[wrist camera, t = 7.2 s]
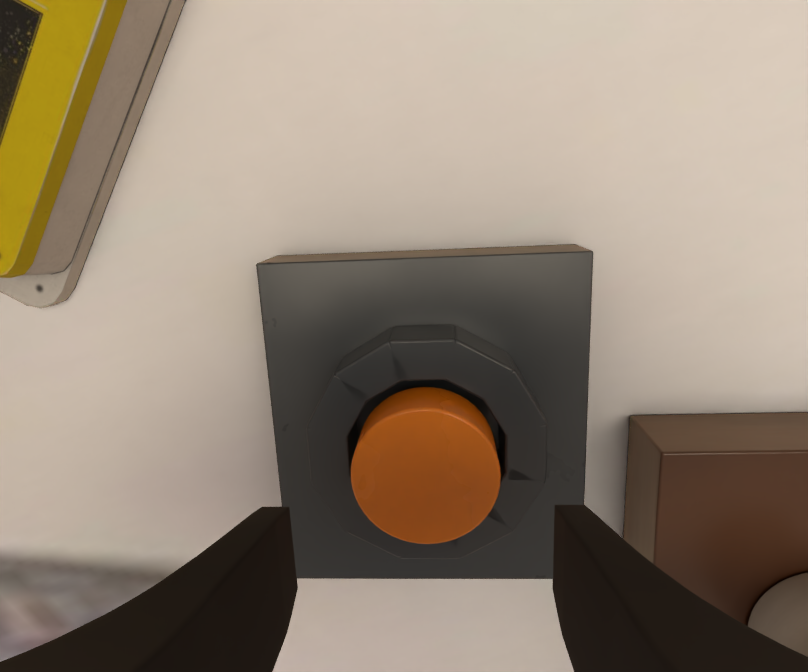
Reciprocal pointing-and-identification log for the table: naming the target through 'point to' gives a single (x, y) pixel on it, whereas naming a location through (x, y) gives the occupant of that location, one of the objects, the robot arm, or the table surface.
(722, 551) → the control panel
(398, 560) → the button box
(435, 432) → the button
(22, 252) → the emergency button
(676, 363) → the table surface
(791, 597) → the dial
